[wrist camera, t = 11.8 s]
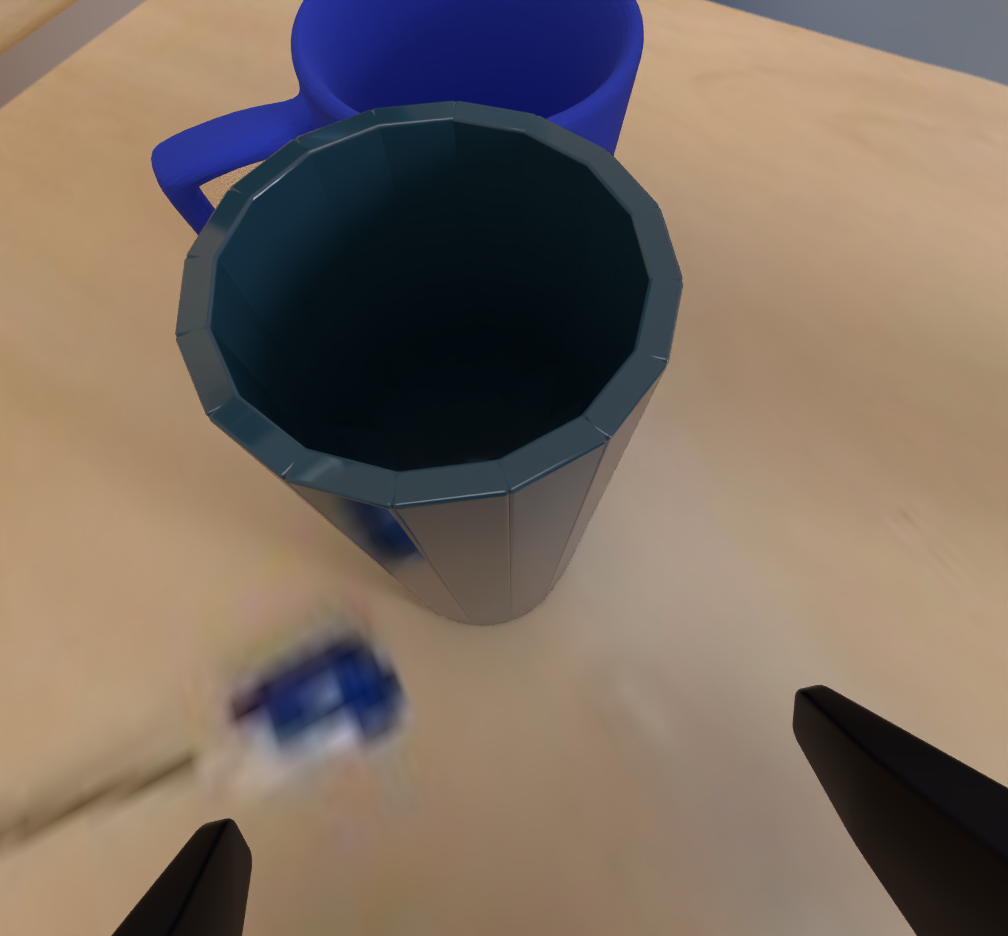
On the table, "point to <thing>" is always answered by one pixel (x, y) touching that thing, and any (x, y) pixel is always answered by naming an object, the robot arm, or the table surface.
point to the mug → (424, 76)
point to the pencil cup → (437, 338)
